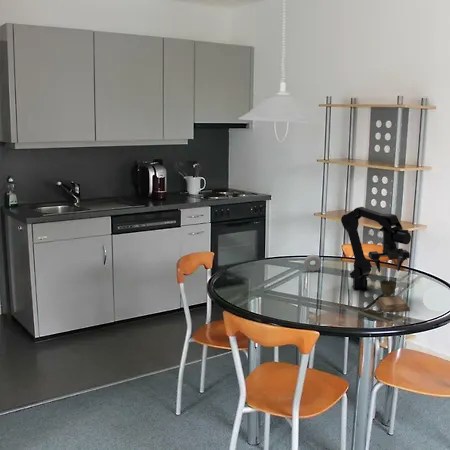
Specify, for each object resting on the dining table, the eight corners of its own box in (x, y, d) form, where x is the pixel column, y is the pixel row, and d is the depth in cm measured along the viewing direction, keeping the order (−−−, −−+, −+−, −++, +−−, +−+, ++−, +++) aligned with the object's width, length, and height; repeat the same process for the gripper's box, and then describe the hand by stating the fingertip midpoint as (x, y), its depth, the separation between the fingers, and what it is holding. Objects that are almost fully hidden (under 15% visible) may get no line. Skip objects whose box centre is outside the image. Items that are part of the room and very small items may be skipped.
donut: (305, 272, 328) (304, 255, 326) (303, 271, 331) (303, 254, 329) (322, 271, 329) (322, 254, 327) (320, 269, 333) (320, 253, 330)
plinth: (383, 311, 265) (383, 305, 265) (375, 302, 277) (376, 296, 277) (409, 310, 266) (409, 304, 265) (400, 301, 278) (400, 295, 277)
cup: (384, 293, 289) (384, 278, 288) (398, 296, 285) (398, 280, 283) (377, 297, 284) (377, 282, 282) (391, 300, 279) (392, 284, 277)
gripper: (375, 245, 270) (374, 277, 273) (414, 243, 271) (413, 275, 274) (368, 240, 281) (367, 271, 284) (406, 238, 282) (405, 269, 285)
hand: (388, 271), depth 282 cm, fingers open, 9 cm apart
